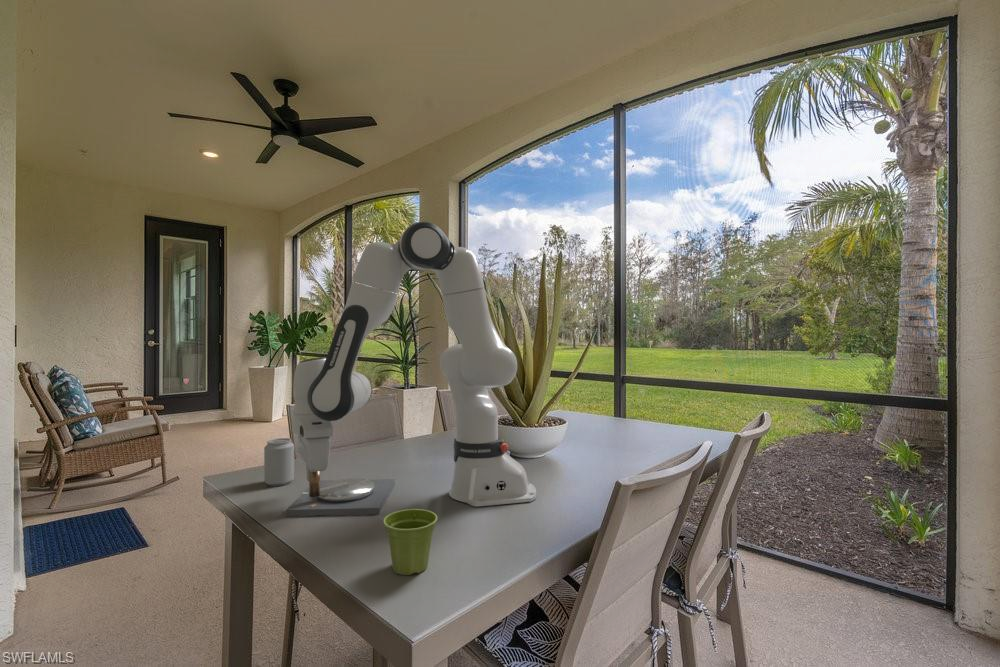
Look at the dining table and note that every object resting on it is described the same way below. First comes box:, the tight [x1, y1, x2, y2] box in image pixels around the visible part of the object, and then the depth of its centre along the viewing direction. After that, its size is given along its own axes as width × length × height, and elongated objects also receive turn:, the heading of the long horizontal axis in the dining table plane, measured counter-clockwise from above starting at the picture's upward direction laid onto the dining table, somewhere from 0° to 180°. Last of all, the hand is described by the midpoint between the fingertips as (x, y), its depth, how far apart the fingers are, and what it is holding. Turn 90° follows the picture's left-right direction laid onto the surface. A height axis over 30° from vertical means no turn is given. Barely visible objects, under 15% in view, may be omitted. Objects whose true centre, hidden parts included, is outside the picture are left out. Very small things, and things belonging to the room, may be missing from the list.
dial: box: [308, 470, 374, 502], centre depth 115 cm, size 16×14×7 cm
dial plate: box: [285, 478, 396, 517], centre depth 116 cm, size 21×21×2 cm
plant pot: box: [383, 508, 438, 576], centre depth 82 cm, size 9×9×9 cm
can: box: [263, 437, 295, 487], centre depth 128 cm, size 8×8×12 cm
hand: (311, 480), depth 112 cm, fingers closed
